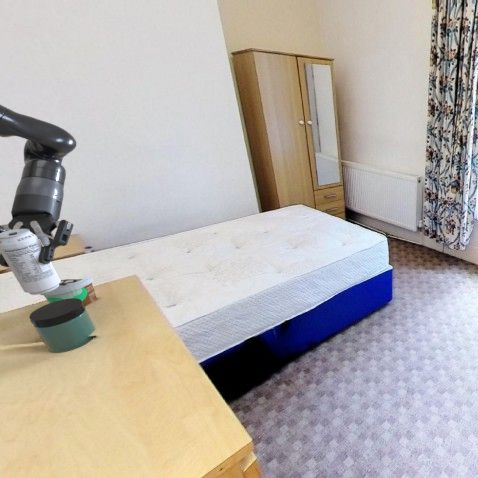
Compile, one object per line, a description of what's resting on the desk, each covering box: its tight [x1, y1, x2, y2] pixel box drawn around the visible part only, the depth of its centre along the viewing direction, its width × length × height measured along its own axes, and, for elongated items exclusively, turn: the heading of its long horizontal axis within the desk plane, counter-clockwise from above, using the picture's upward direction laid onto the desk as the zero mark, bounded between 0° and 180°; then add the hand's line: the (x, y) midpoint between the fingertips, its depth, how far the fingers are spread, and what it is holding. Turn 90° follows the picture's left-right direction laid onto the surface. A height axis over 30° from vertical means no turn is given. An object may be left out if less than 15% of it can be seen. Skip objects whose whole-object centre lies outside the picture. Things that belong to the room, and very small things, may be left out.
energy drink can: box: [0, 229, 62, 296], centre depth 74 cm, size 6×6×15 cm
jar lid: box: [28, 298, 86, 327], centre depth 81 cm, size 9×9×2 cm
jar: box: [33, 307, 97, 354], centre depth 83 cm, size 9×9×10 cm
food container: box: [39, 275, 98, 307], centre depth 93 cm, size 12×6×10 cm, turn 106°
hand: (25, 264), depth 73 cm, fingers closed on energy drink can, 6 cm apart
